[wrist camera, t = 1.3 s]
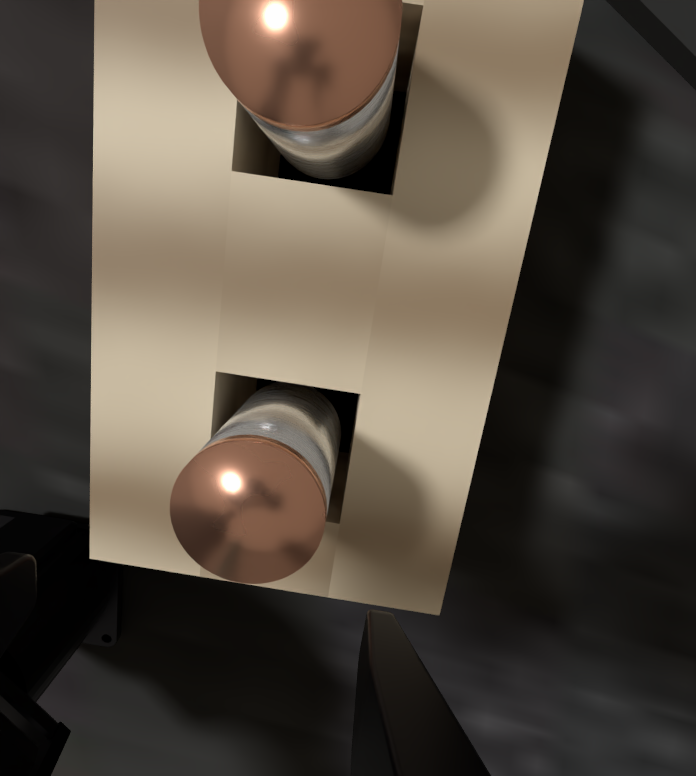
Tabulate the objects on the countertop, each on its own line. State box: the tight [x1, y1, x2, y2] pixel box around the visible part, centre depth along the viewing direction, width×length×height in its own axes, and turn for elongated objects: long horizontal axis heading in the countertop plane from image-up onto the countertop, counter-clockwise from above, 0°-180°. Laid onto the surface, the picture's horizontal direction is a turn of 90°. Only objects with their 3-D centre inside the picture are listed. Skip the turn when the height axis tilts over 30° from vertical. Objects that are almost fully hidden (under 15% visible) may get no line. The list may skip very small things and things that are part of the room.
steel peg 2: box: [170, 382, 341, 584], centre depth 14 cm, size 4×4×6 cm
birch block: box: [89, 0, 584, 615], centre depth 16 cm, size 20×12×6 cm, turn 172°
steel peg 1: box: [199, 0, 402, 179], centre depth 11 cm, size 4×4×6 cm
